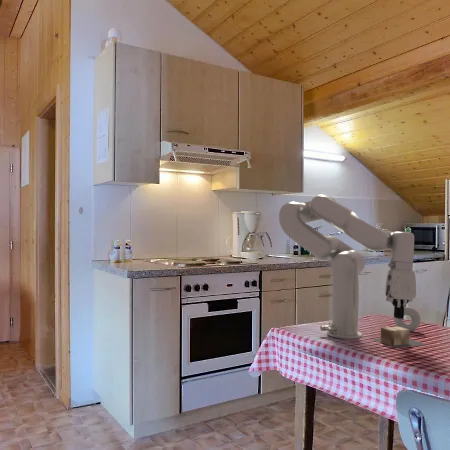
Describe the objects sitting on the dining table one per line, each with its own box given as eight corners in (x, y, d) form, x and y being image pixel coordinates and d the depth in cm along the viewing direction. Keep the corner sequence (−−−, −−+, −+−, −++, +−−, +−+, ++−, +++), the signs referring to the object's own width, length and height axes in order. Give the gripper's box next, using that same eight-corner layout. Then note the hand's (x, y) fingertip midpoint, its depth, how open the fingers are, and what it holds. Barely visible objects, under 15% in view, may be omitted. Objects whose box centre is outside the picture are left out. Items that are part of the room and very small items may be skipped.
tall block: (408, 344, 158) (390, 345, 155) (399, 340, 162) (380, 341, 160) (409, 329, 158) (390, 330, 155) (399, 326, 163) (381, 327, 160)
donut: (419, 332, 179) (420, 306, 179) (420, 333, 176) (421, 308, 176) (393, 329, 182) (393, 305, 182) (393, 331, 179) (394, 306, 179)
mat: (394, 348, 153) (394, 347, 153) (371, 339, 164) (371, 338, 164) (426, 346, 157) (426, 344, 157) (402, 337, 169) (402, 336, 169)
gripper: (391, 267, 154) (388, 321, 154) (426, 268, 159) (423, 319, 159) (377, 265, 161) (374, 316, 161) (410, 265, 166) (408, 315, 166)
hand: (398, 317), depth 160 cm, fingers closed
